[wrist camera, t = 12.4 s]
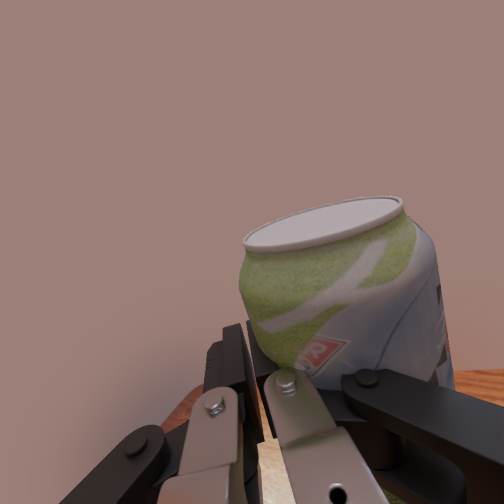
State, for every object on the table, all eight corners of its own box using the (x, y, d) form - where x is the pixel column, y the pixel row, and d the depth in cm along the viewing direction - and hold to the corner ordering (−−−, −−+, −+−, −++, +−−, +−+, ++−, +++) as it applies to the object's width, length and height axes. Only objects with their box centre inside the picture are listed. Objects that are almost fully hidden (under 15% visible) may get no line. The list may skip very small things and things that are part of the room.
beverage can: (514, 544, 9) (556, 181, 6) (318, 657, 8) (263, 236, 5) (383, 408, 15) (375, 188, 12) (256, 455, 14) (216, 214, 11)
